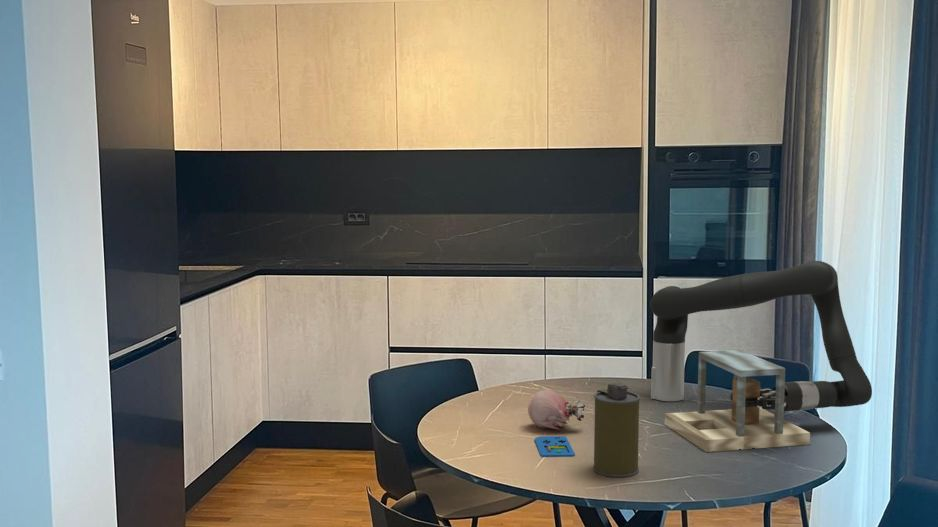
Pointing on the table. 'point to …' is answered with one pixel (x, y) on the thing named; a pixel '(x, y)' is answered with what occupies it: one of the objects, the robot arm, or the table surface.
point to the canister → (616, 431)
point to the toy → (552, 410)
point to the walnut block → (751, 392)
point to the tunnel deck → (737, 410)
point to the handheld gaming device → (554, 446)
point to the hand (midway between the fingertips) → (736, 400)
